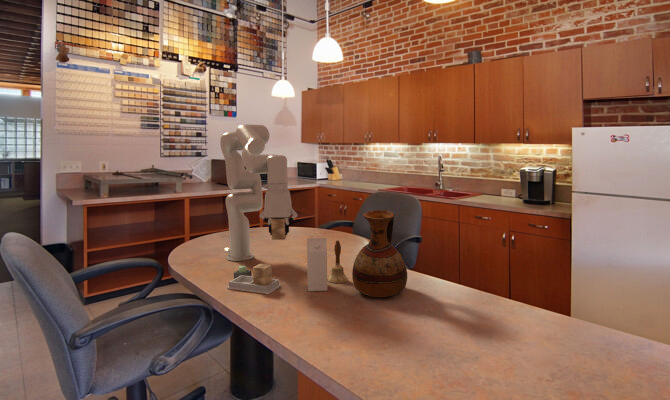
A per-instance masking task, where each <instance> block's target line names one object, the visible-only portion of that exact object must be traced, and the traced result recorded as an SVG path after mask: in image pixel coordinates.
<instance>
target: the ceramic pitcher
mask: <svg viewBox="0 0 670 400" xmlns="http://www.w3.org/2000/svg"><path fill="white" fill-rule="evenodd" d="M362 216H363V218H364V219H365V220H366V221H367V222H368V223H369V231H370V238H369V242H368V243H367V244H365V245H364V246H363V247H362V248H361V249H360V250H359V252H358V253H357V255H356V257H355V258H354V261H353V266H352V275H351V276H352V277H351V280H352V283H353V286H354V288H355V290H357V291H358V292H360V293H362V294H364V295H365V296H369V297H373V298H386V297H391V296H396V295H397V294H399V293H401V292H403V291H404V289H405V288H406V287H407V282H408V270H407V266H406V263H405V261H404V259H403V256H402V255H401V253H400V252H399V251H398V250H397V248H396V247H395V246H393V244H392V239H393V232H394V224H395V223H394V222H395V221H394V216H395V213H394V212H393V211H391V210H386V209H377V210H370V211H369V210H368V211H366V212H364V213H363V214H362Z"/></svg>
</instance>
